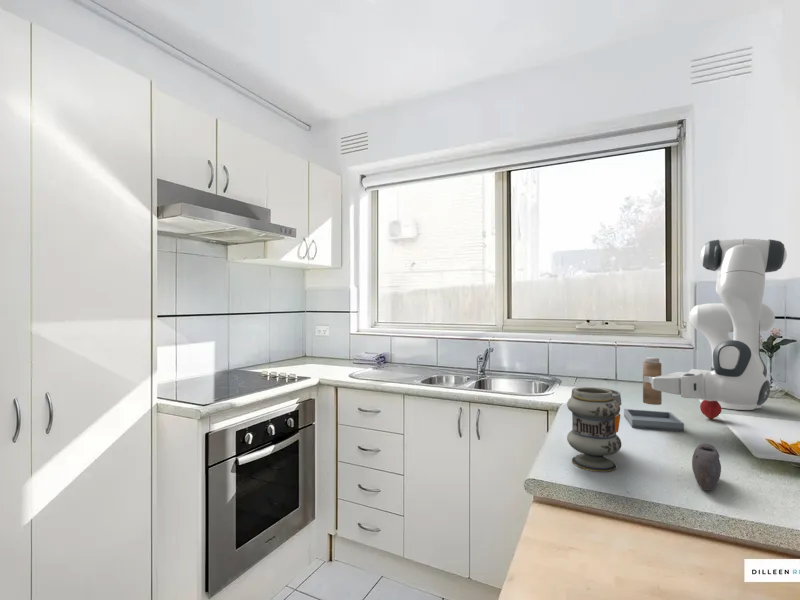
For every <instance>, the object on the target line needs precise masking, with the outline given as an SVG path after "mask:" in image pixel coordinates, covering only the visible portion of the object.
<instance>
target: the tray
mask: <svg viewBox="0 0 800 600" xmlns="http://www.w3.org/2000/svg"><path fill="white" fill-rule="evenodd" d="M623 417H624V418H625V420H626V421H627V422H628V424H629V425H630V426H631V428H637V429H645V430H646V429H649V430H661V431H669V432H670V431H672V432H681V433H682V432H685V429H684V427H685V424H684V422H683V421H682V420H681V419H679V418H678V416H676V415H675V414H674V413H672V412H670V411H661V410H660V411H659V410H645V409H632V408H631V409H630V408H624V409H623Z"/></svg>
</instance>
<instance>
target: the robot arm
mask: <svg viewBox="0 0 800 600" xmlns="http://www.w3.org/2000/svg"><path fill="white" fill-rule="evenodd" d="M699 256H700V257H699V259H700V262H701V264H702V267H703V268H704V269H705V270H708V271H711V272H712V271H713V272H717V274H716V276H717V277H716V282H715V283H716V284H715V292H716V294H717V295H718V296H719V298H720V300H721V302H720V303H719V302H717V303H713V302H711V303H702V304H697V305H695V306H693V307H692V309H691V310H690V312H689V315H688V317H689V319H688V320H689V323H690V324H691V326H692V327H693V328H694V329H695V330H696V331H698V332H699V333H701V334H702V335H703V337H705V338H706V340H707V341H708V344H709V346H710V350H711V359H712V360H711V362H712V367H711V368H710V370H709V369H707V370H706V369H696V368H691V369H690V370H689V371H687V372H685V371H675V372H670V373H665V374H661V376H657V377H650V376H645V377H644V382H648V383H651V384H652V388H653V389H655V390H657V391H662V393H667V394H671V395H676V396H677V395H678V396H680V397H681V398H684V399H695V400H698V401H699V403H700V404H701V403H702V401H703V400H707V401H718V403H719V404H720V406H721V409H729V410H738V411H740V410H741V411H751V410H756V409H761V408H762V405H763V404H765V402H767V400H768V398H769V396H770V392H771V384H770V381H769V380H768V379H767V375H768V369H767V366H766V364H765V363H764V361H763V358H762V357H761V356H762V355H761V351H760V346H761V343H760V342H761V341H760V340H761V339H760V337H761V336H760V335H761V334H760V333H761V332H766V331H769V330H770V329H771V328H772V327H773V326H774V324H775V321H776V316H775V312H774V311H773V310H772V309H771V308H770V307H769V305H766V304H765V303H763V299H764V292H765V285H766V273H773V272H777V271H779V270H780V269H782V267H783V265H784V264H785V262H786V259H787V250H786V247H785V244H784V243H783V242H782V241H780V240H776V239H768V240H767V239H766V240H765V239H760V238H759V239H758V238H743V239H742V238H741V239H740V238H739V239H736V238H735V239H724V240H721V239H714V240H710V241H707V242H706V243H705V244H704V246H703V248H702V249H701V251H700V255H699ZM729 333H732V334H733V337H732V338H730V336H729Z"/></svg>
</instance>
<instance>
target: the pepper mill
mask: <svg viewBox="0 0 800 600" xmlns="http://www.w3.org/2000/svg"><path fill="white" fill-rule="evenodd" d="M661 375H662V363H661V362H660V358H659V357H645V358H644V361H642V403H643V404H647V405H652V406H658V405H659V406H660V405H662V401H663V399H662V395H663V394H662V393H663V392H662V391H657V390H655V389H653V388H652V384H651V383H648V382H644V377H645V376H650V377H657V376H661Z"/></svg>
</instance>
